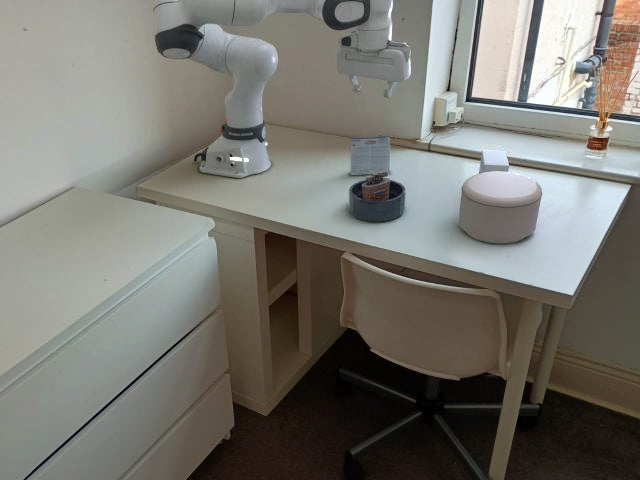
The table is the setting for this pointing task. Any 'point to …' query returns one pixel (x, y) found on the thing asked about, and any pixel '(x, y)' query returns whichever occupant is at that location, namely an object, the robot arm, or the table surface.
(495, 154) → the cosmetics box
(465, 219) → the container
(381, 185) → the lighter
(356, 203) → the bowl
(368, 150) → the ink box
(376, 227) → the table surface
